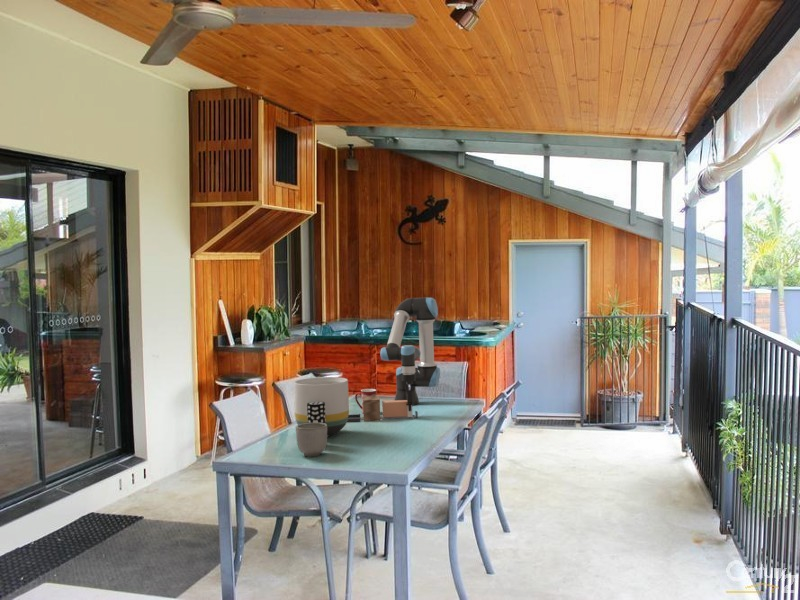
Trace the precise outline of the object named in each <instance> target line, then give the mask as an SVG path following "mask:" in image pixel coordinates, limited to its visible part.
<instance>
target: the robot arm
mask: <svg viewBox="0 0 800 600" xmlns="http://www.w3.org/2000/svg"><path fill="white" fill-rule="evenodd" d="M438 315H439V309H438V304H437V301H436V299H435V298H434V297H409V298H406V299H404V300H402V302H400V303H399V304H398V306H397V307H396V308H395V310H394V314H393V318H394V320H393V322H392V326H391V330H390V333H389V337H388V340H387V344H386V347H385V346H384V347H382V348H380V352H379V353H380V359H381V360H382V361H386V362H390V361H391V362H394V361H398V362H399V361H401V362H400V363H401V366H399V367H396V370H395V371H396V372H395V379H396V380H395V381H396V385H395V386H396V391H395V392H396V393H395V396H394V399H393V401H395V400H407V404H406V405H407V415H408V417H413V415H414V414H413V406H416V405H419V404H420V401H419V396H418V393H417V391H416V388H419V387H420V388H422V387H423V388H435V387H437V386H438V385H439V383H440V378H441V369H440V368H439V367H438V364H437V363H436V362H435V348H434V345H435V344H434V342H435V341H434V322H435V320H436V318H437V317H438ZM410 318H415V321H416V322H417V323H418V339H419V341H418V344H419V345H418V346H419V347H417V346H414V345H412V344H409V345H402V340H403V337H404V333H405V331H406V326H407V323H408V322H409V320H410ZM401 345H402V346H401ZM417 360H419V362H418V364H417V367H416V361H417Z"/></svg>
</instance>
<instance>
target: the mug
mask: <svg viewBox="0 0 800 600" xmlns="http://www.w3.org/2000/svg"><path fill="white" fill-rule="evenodd" d="M358 395H360V397H361V403H360V402H359V400H358ZM370 396H377V389H375V388H364V389H360V392H356V394H355V403H356V404H357V405H358V407H359V408H360V409H361V411H362V414H363V415H364V413H363V397H370Z"/></svg>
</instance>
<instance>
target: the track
mask: <svg viewBox="0 0 800 600" xmlns="http://www.w3.org/2000/svg"><path fill="white" fill-rule="evenodd" d="M412 415H413V417H408V416H403V417H383V415H382V416H381V415H380V420H382V419H395V418H413V419H418V418H419V416H418V410H415V411H414V414H412ZM360 421H364V416H360Z"/></svg>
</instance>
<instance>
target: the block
mask: <svg viewBox="0 0 800 600" xmlns="http://www.w3.org/2000/svg"><path fill="white" fill-rule="evenodd" d="M381 404H382V406H381V407H382V408H381V409H382V416H383V417H403V416H408V415H407V405H406V404H407V400H395V401H394V400H382V403H381Z"/></svg>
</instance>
